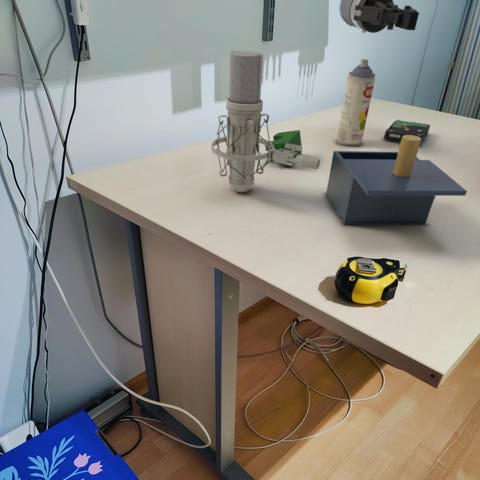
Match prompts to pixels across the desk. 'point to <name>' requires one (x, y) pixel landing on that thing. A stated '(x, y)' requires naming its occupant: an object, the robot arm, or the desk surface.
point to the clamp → (286, 141)
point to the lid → (403, 174)
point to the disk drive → (406, 130)
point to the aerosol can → (356, 105)
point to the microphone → (250, 125)
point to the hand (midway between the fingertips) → (413, 21)
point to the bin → (371, 196)
